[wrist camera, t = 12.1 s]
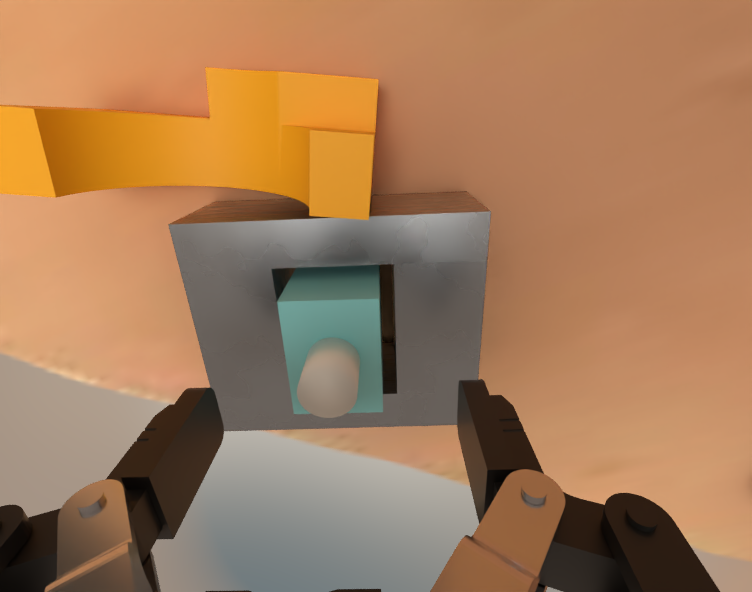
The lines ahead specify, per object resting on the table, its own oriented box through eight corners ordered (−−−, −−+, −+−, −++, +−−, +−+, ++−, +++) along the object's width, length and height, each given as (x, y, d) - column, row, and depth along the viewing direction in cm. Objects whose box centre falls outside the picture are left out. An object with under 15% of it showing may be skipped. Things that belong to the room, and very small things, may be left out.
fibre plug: (379, 245, 20) (378, 325, 12) (382, 332, 22) (383, 450, 14) (307, 247, 20) (261, 328, 12) (317, 334, 22) (282, 452, 14)
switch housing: (466, 191, 19) (490, 211, 14) (457, 369, 23) (474, 424, 19) (214, 201, 19) (168, 224, 15) (250, 375, 23) (222, 431, 19)
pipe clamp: (378, 86, 17) (378, 68, 11) (371, 188, 19) (368, 219, 13) (96, 63, 17) (-57, 32, 11) (116, 169, 19) (-6, 193, 13)
